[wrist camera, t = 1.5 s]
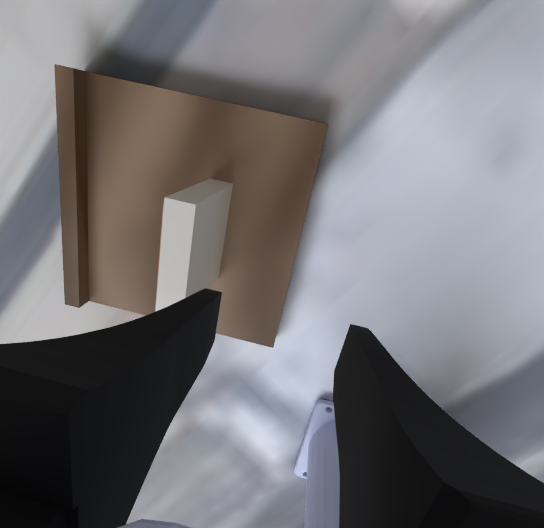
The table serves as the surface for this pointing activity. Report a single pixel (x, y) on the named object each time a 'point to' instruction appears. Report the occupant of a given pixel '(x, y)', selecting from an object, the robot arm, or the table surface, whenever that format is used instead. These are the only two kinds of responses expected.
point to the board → (173, 178)
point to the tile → (192, 240)
